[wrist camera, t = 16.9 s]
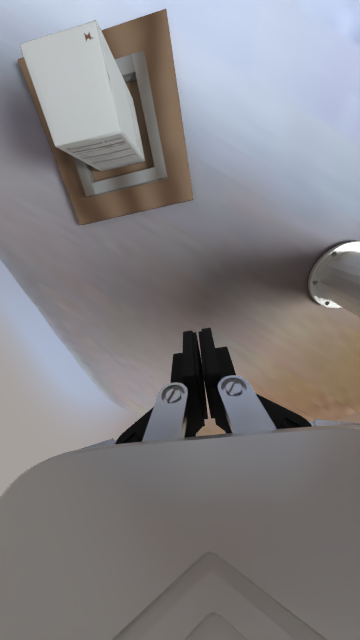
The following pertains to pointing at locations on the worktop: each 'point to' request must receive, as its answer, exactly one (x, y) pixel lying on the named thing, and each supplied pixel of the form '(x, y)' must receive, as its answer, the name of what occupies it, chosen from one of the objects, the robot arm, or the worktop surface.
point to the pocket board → (154, 125)
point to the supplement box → (84, 97)
